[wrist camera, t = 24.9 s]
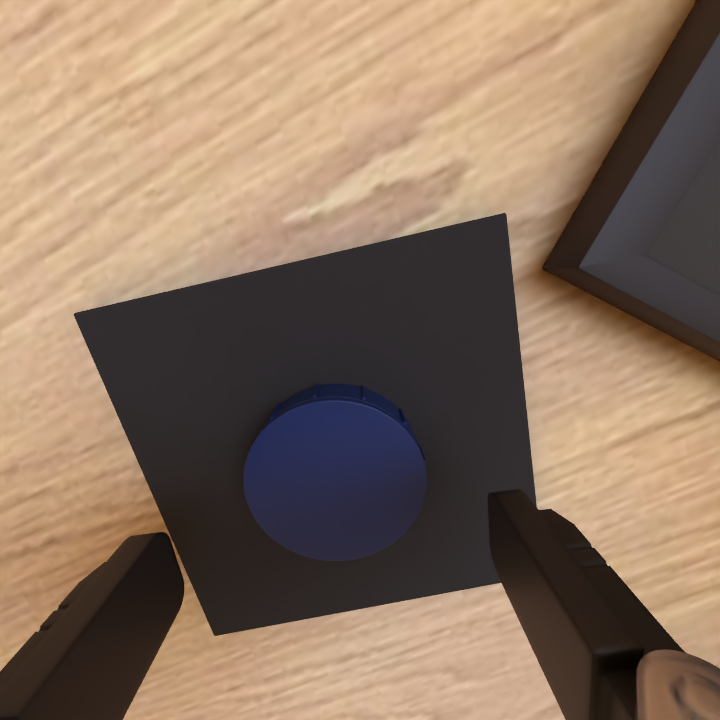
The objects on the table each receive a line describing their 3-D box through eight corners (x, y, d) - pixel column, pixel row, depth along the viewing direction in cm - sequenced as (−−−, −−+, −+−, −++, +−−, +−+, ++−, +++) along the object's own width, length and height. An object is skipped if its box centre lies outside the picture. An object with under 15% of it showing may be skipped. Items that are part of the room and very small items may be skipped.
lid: (426, 387, 12) (436, 404, 10) (410, 529, 13) (418, 564, 12) (255, 379, 11) (239, 395, 10) (258, 524, 13) (245, 558, 11)
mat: (221, 618, 15) (214, 636, 14) (91, 310, 12) (72, 313, 11) (534, 559, 15) (544, 575, 14) (496, 216, 11) (506, 212, 10)
